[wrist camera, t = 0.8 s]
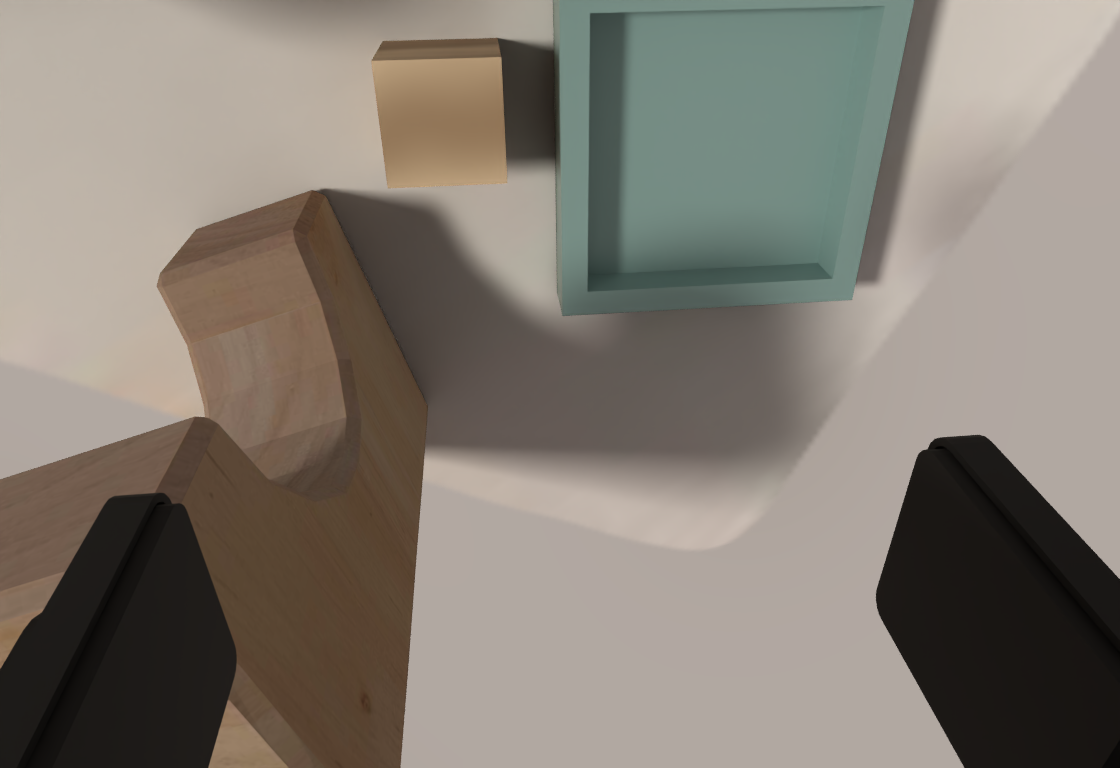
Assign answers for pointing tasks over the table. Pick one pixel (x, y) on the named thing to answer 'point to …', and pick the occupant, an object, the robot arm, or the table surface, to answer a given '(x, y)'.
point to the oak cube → (441, 112)
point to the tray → (718, 148)
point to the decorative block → (269, 489)
